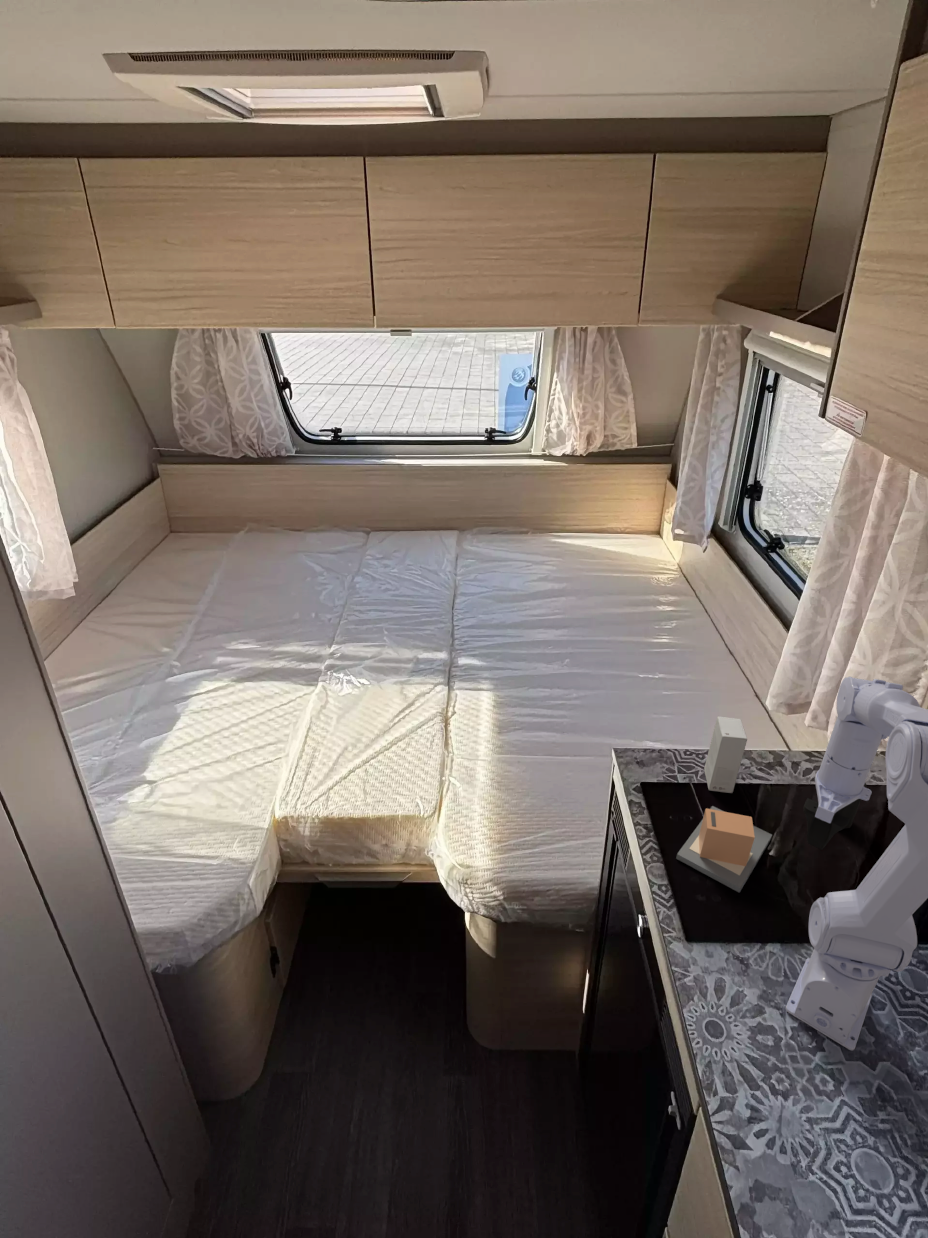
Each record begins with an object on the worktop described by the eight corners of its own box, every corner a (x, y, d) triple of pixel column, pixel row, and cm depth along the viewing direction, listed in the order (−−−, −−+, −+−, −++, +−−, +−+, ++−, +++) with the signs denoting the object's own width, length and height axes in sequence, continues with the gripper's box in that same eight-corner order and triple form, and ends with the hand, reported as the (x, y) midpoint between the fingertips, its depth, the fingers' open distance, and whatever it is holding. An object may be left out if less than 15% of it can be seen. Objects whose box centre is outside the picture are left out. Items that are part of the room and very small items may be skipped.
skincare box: (733, 794, 123) (748, 739, 117) (708, 791, 123) (721, 736, 118) (727, 771, 128) (741, 718, 122) (703, 768, 128) (716, 715, 123)
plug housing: (746, 866, 107) (754, 837, 104) (699, 857, 108) (707, 827, 105) (743, 845, 111) (751, 816, 108) (698, 836, 112) (705, 807, 109)
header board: (739, 892, 104) (745, 873, 102) (676, 858, 109) (680, 839, 107) (770, 839, 113) (776, 820, 111) (711, 810, 119) (716, 791, 117)
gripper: (868, 798, 89) (838, 874, 95) (891, 743, 99) (863, 815, 105) (810, 774, 93) (785, 848, 99) (838, 723, 103) (813, 794, 109)
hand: (822, 830), depth 103 cm, fingers open, 7 cm apart
